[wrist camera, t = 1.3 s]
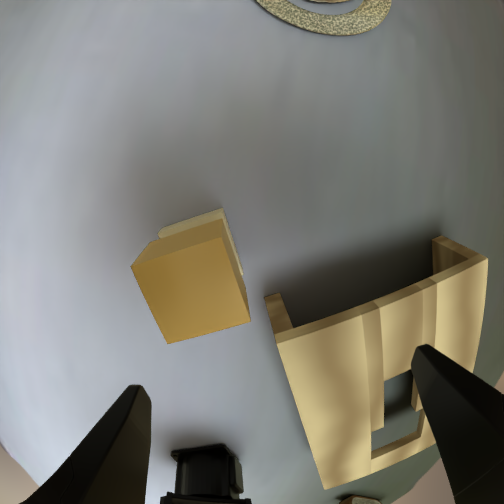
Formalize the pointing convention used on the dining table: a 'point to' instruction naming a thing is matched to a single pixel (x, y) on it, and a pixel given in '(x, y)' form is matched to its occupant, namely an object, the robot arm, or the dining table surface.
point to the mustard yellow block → (193, 278)
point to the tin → (359, 500)
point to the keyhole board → (378, 360)
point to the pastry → (331, 16)
